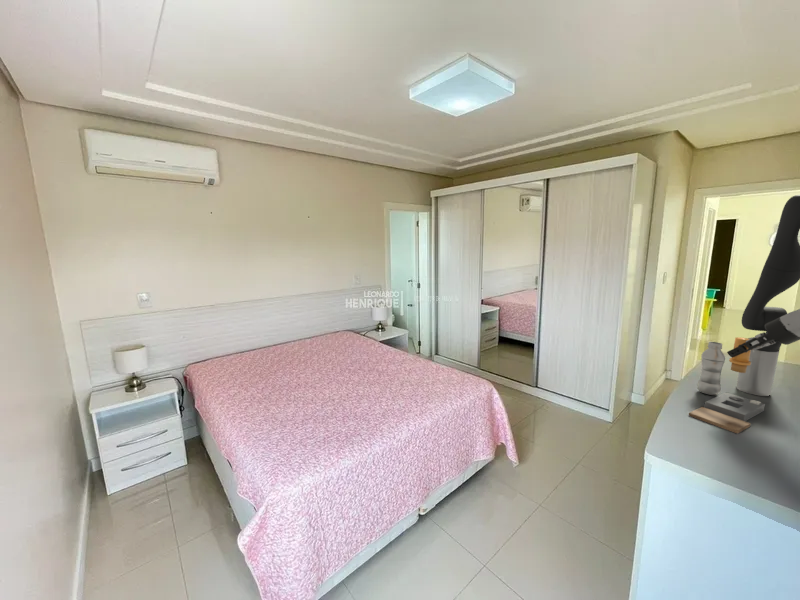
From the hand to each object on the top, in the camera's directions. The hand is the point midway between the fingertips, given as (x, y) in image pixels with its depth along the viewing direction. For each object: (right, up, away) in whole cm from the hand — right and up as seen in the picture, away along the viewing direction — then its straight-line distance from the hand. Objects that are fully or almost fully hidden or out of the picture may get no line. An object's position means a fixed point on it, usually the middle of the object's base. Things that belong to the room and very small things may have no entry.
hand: (732, 353), depth 110 cm
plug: (+1, -6, -1) cm, 6 cm away
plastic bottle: (+5, -18, +15) cm, 24 cm away
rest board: (-9, -21, -5) cm, 23 cm away
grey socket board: (+3, -20, +2) cm, 20 cm away
